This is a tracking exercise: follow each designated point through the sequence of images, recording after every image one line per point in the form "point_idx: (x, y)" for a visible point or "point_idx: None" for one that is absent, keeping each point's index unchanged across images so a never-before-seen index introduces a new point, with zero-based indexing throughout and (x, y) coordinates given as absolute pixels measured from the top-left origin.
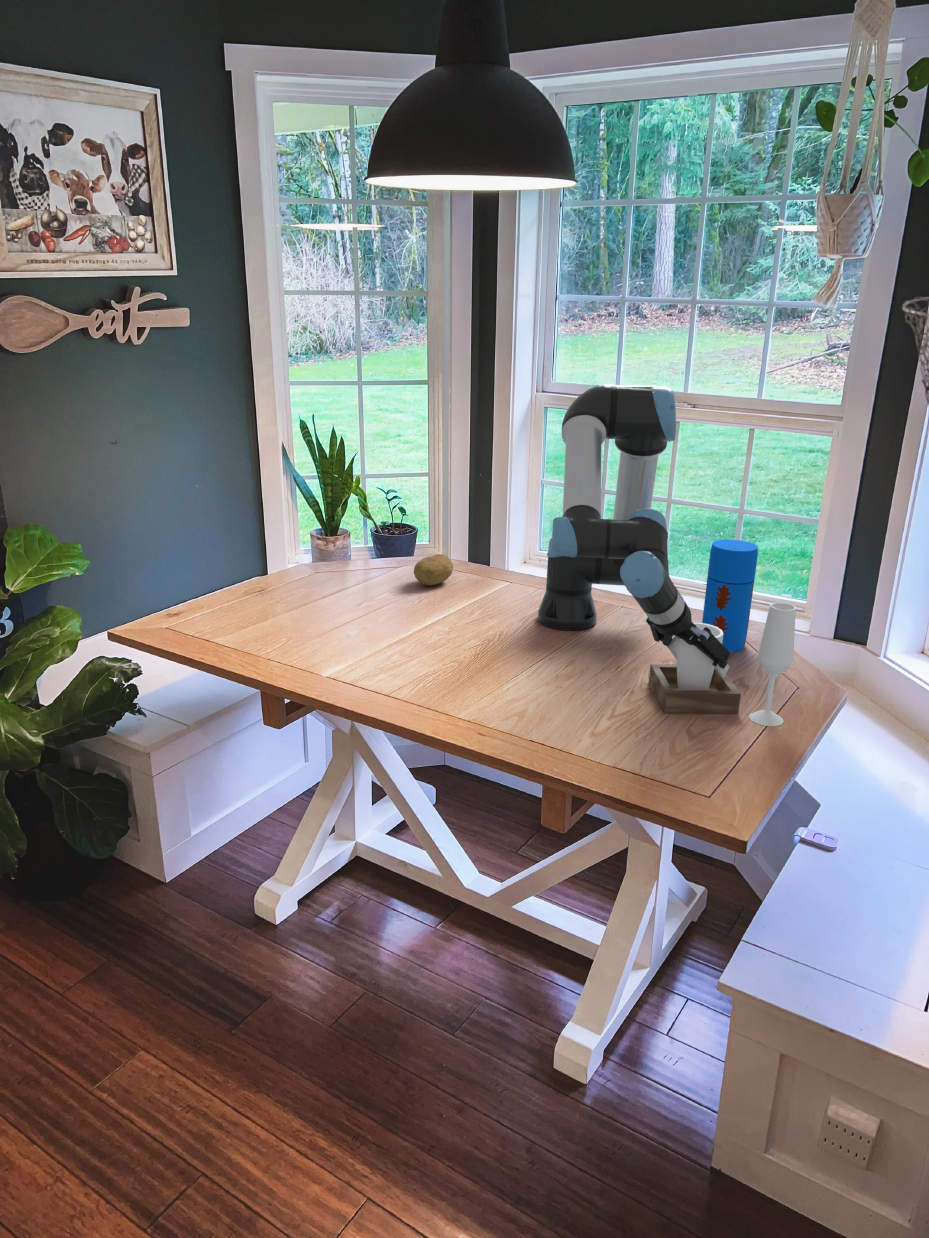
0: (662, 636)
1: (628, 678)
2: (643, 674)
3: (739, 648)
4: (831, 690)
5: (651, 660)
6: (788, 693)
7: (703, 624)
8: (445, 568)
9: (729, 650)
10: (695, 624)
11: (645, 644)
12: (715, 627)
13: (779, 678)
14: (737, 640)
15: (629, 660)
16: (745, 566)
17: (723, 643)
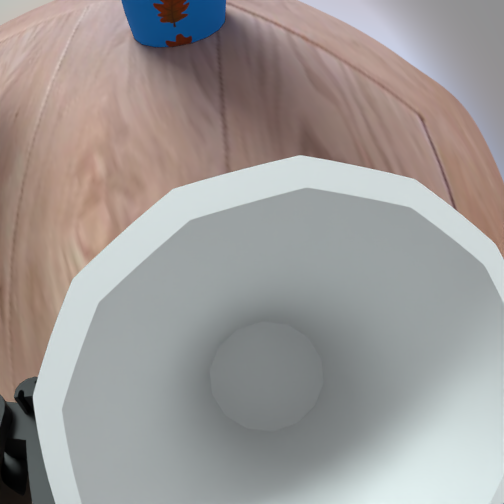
0: (26, 449)
1: (44, 354)
2: (61, 297)
3: (222, 20)
4: (455, 101)
5: (52, 188)
6: (429, 154)
7: (263, 201)
8: None
9: (206, 34)
10: (167, 250)
11: (28, 121)
12: (420, 207)
13: (368, 90)
14: (217, 8)
15: (10, 230)
16: None
17: (190, 26)
